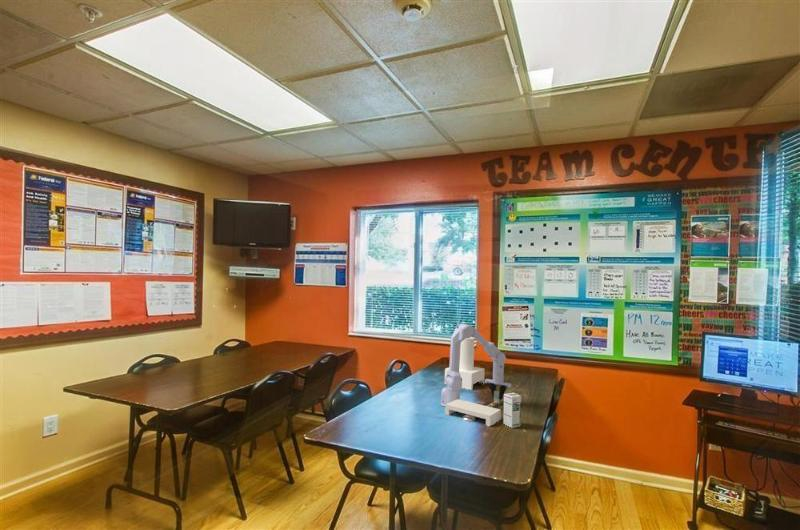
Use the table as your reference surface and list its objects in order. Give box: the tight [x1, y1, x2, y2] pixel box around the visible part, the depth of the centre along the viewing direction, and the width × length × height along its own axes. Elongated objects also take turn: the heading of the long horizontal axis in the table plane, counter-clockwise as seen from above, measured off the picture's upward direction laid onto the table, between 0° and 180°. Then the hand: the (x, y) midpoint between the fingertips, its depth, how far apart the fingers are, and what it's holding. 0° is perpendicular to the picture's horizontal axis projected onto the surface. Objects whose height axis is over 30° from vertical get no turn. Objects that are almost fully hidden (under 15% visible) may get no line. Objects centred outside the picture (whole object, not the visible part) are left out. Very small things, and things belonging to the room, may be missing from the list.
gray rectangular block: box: [486, 389, 502, 408], centre depth 216 cm, size 22×6×7 cm, turn 142°
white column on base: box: [444, 337, 485, 391], centre depth 262 cm, size 19×19×30 cm
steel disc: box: [462, 414, 476, 422], centre depth 197 cm, size 6×6×1 cm
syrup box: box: [503, 392, 522, 429], centre depth 191 cm, size 6×6×14 cm
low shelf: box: [444, 399, 502, 427], centre depth 200 cm, size 24×12×5 cm, turn 52°
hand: (497, 398), depth 223 cm, fingers open, 4 cm apart
